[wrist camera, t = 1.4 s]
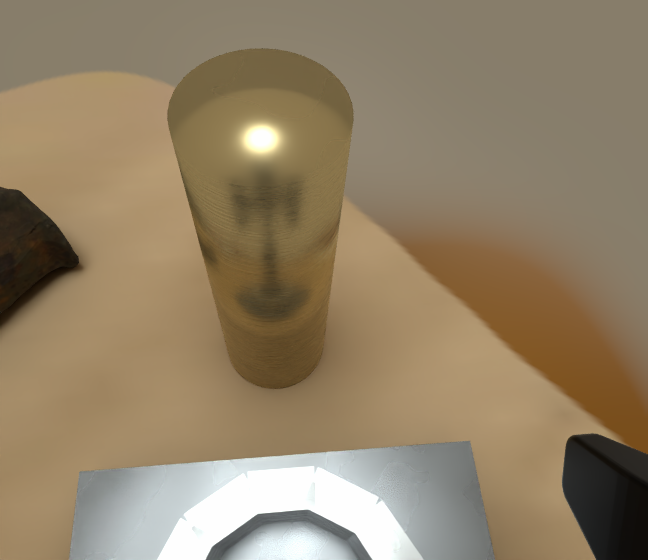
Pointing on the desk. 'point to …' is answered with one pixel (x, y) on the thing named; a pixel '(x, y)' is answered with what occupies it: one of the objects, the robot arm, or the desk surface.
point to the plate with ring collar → (289, 508)
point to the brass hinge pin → (265, 200)
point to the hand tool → (27, 246)
